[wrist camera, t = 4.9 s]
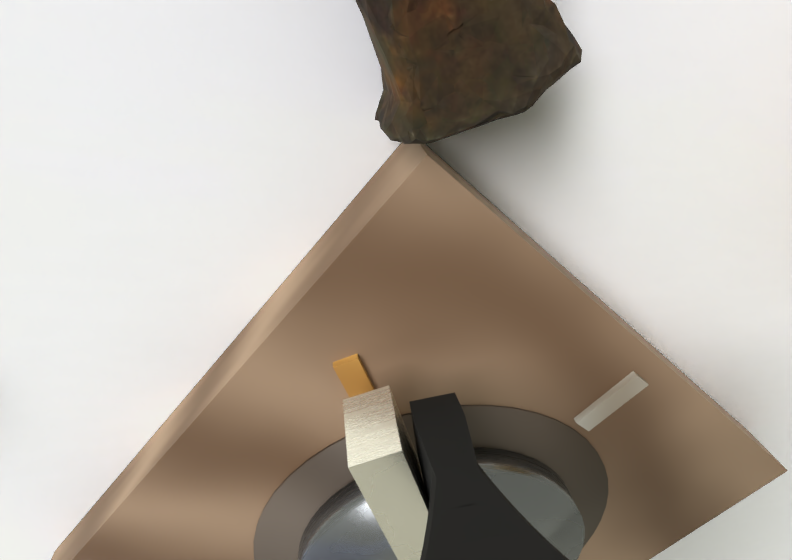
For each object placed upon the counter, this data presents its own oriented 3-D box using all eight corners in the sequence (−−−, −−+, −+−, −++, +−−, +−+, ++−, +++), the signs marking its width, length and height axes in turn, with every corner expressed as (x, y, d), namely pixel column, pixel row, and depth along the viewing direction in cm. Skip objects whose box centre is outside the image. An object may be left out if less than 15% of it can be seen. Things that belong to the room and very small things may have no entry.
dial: (581, 568, 20) (620, 652, 18) (352, 640, 20) (358, 733, 18) (543, 307, 13) (601, 386, 10) (183, 423, 13) (152, 530, 10)
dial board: (433, 648, 27) (442, 697, 25) (54, 551, 18) (25, 615, 16) (748, 431, 21) (792, 475, 19) (411, 131, 12) (428, 157, 10)
